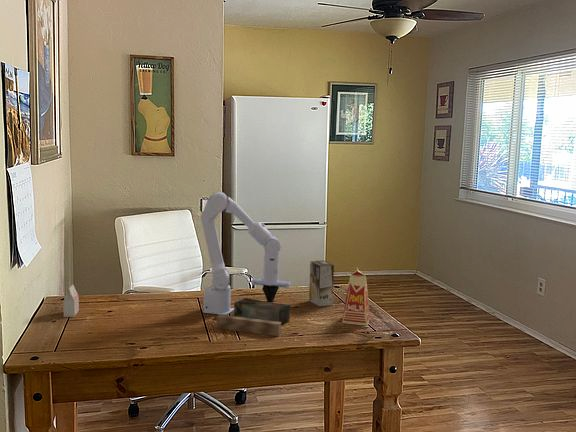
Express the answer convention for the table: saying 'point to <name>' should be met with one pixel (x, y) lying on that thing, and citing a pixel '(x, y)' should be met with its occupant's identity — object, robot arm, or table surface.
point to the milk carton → (356, 300)
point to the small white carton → (71, 303)
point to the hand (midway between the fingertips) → (270, 305)
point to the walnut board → (249, 325)
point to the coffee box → (321, 283)
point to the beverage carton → (262, 310)
